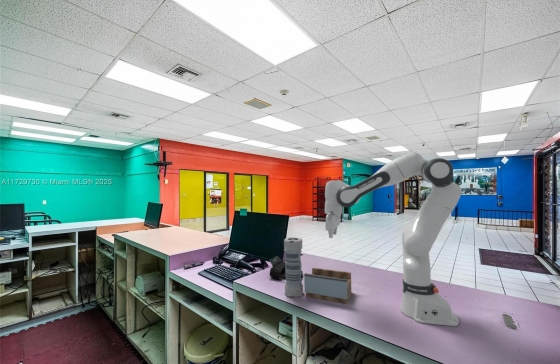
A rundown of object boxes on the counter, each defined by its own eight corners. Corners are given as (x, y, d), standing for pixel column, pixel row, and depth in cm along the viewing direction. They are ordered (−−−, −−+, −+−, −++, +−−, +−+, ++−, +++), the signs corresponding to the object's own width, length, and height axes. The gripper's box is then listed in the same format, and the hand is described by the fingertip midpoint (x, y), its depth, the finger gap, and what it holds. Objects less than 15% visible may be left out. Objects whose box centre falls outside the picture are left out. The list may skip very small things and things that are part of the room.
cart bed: (351, 292, 134) (351, 272, 134) (347, 303, 122) (347, 281, 122) (312, 286, 143) (312, 267, 143) (305, 296, 130) (305, 275, 131)
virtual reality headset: (277, 267, 173) (279, 254, 173) (306, 277, 164) (308, 263, 163) (264, 276, 156) (266, 261, 156) (295, 288, 147) (298, 272, 146)
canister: (302, 298, 128) (301, 241, 129) (283, 296, 130) (282, 240, 131) (304, 290, 138) (303, 237, 138) (286, 288, 140) (285, 236, 140)
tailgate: (347, 298, 121) (347, 279, 121) (346, 299, 120) (346, 280, 120) (305, 290, 130) (305, 273, 130) (304, 292, 129) (304, 274, 129)
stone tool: (521, 329, 97) (505, 323, 100) (521, 332, 97) (504, 326, 100) (516, 315, 109) (501, 310, 112) (515, 318, 109) (500, 313, 112)
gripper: (335, 212, 119) (334, 241, 119) (342, 208, 137) (342, 233, 137) (322, 211, 121) (322, 239, 121) (331, 208, 140) (331, 232, 140)
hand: (332, 236), depth 129 cm, fingers open, 8 cm apart
